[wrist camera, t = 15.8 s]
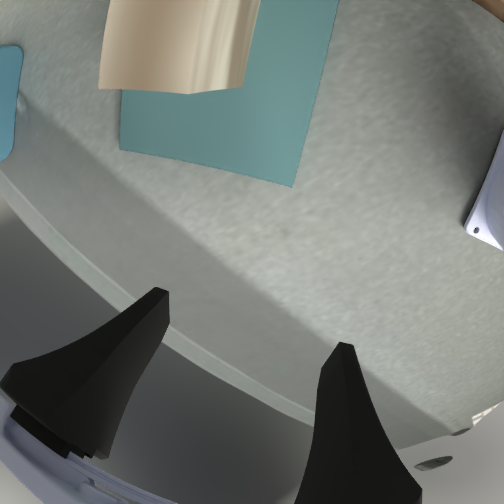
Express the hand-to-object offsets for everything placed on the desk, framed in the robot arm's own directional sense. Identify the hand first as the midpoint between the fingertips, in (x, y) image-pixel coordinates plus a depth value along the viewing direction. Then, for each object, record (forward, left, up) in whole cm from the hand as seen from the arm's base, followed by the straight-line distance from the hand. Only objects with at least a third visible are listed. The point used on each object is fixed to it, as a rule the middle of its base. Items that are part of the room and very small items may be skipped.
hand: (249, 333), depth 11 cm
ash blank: (+6, -11, -9) cm, 15 cm away
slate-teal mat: (+6, -11, -9) cm, 16 cm away
